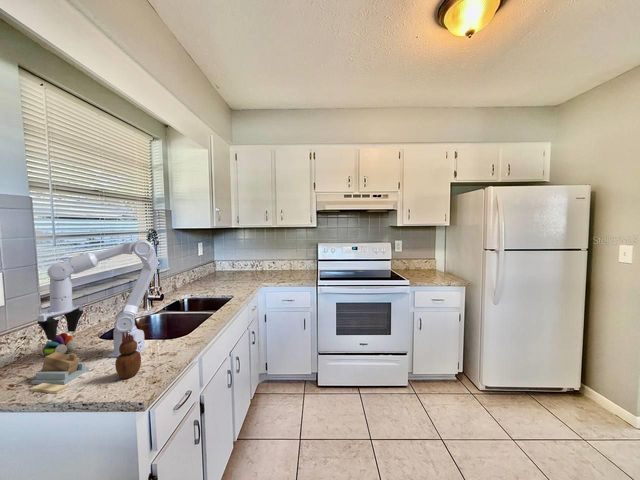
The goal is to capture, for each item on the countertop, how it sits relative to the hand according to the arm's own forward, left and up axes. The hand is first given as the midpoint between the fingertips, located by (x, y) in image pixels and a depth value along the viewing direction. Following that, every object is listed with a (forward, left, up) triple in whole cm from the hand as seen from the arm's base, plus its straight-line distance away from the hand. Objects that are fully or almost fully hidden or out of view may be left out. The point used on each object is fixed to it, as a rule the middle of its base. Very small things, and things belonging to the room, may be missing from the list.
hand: (62, 335), depth 98 cm
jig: (-7, +8, -10) cm, 15 cm away
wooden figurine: (-28, +7, -11) cm, 31 cm away
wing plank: (-10, +15, -11) cm, 21 cm away
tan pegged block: (-6, +8, -8) cm, 13 cm away
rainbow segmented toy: (+10, -10, -11) cm, 18 cm away
